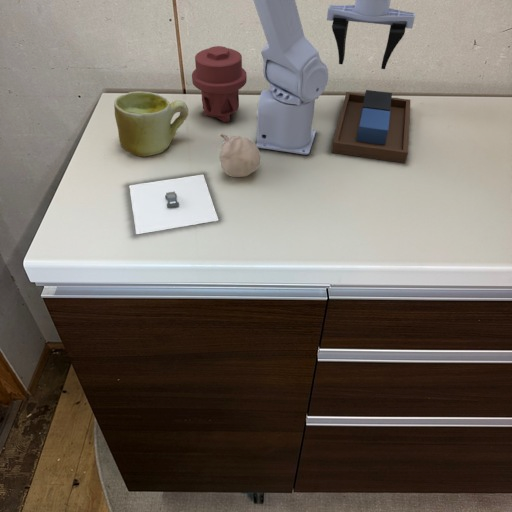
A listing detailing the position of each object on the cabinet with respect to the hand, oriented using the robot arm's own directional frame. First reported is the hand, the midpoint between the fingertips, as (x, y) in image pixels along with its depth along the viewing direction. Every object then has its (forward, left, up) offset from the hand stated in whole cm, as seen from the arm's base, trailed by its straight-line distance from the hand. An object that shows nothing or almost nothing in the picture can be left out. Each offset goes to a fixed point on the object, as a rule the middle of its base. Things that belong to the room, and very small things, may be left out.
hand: (362, 64), depth 87 cm
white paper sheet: (-24, -36, -10) cm, 44 cm away
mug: (-33, -21, -10) cm, 40 cm away
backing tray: (+4, -6, -9) cm, 12 cm away
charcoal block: (+4, -1, -9) cm, 10 cm away
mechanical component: (-25, -8, -10) cm, 28 cm away
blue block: (+4, -9, -9) cm, 13 cm away
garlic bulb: (-16, -26, -10) cm, 32 cm away
